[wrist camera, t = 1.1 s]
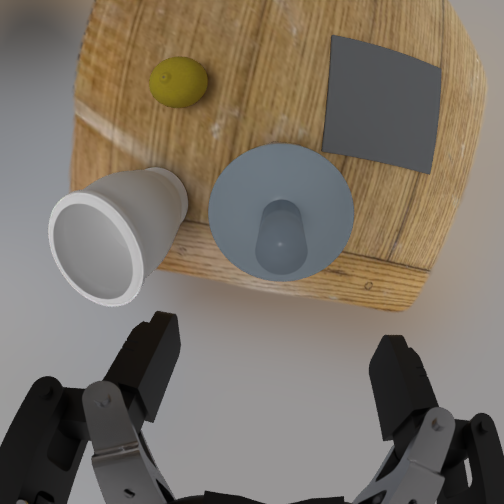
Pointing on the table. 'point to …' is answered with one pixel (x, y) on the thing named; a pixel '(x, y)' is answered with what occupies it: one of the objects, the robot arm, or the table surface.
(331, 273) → the table surface
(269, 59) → the table surface
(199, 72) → the lemon
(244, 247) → the lid
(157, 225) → the jar
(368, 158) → the mat
